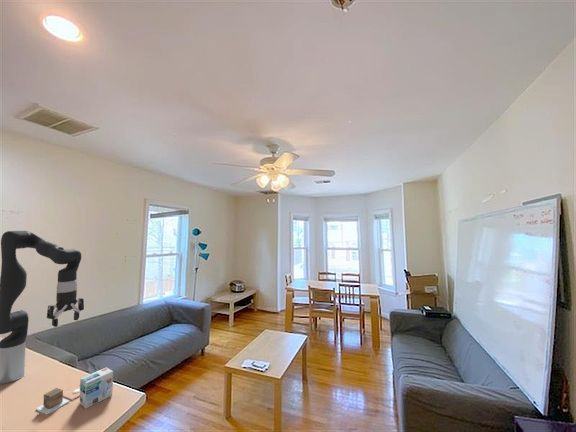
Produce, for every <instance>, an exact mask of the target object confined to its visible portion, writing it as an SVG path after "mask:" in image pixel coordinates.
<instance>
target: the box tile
mask: <svg viewBox="0 0 576 432" xmlns="http://www.w3.org/2000/svg"><path fill="white" fill-rule="evenodd" d="M70 402H71V400H69V399H67V398H64V397H63V402H61V403H60V404H58V405H56V406H54V407H52V408H51V409H49V408H47V407H44V406H43V404H41V405H40V406H37V407H36V408H35V411H38V412H40V413H42V414H45V415H50V414H51V413H53V412H55V411H56V410H58V409H60V408H62V407H63V406H65V405H67V404H69V403H70Z"/></svg>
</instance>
